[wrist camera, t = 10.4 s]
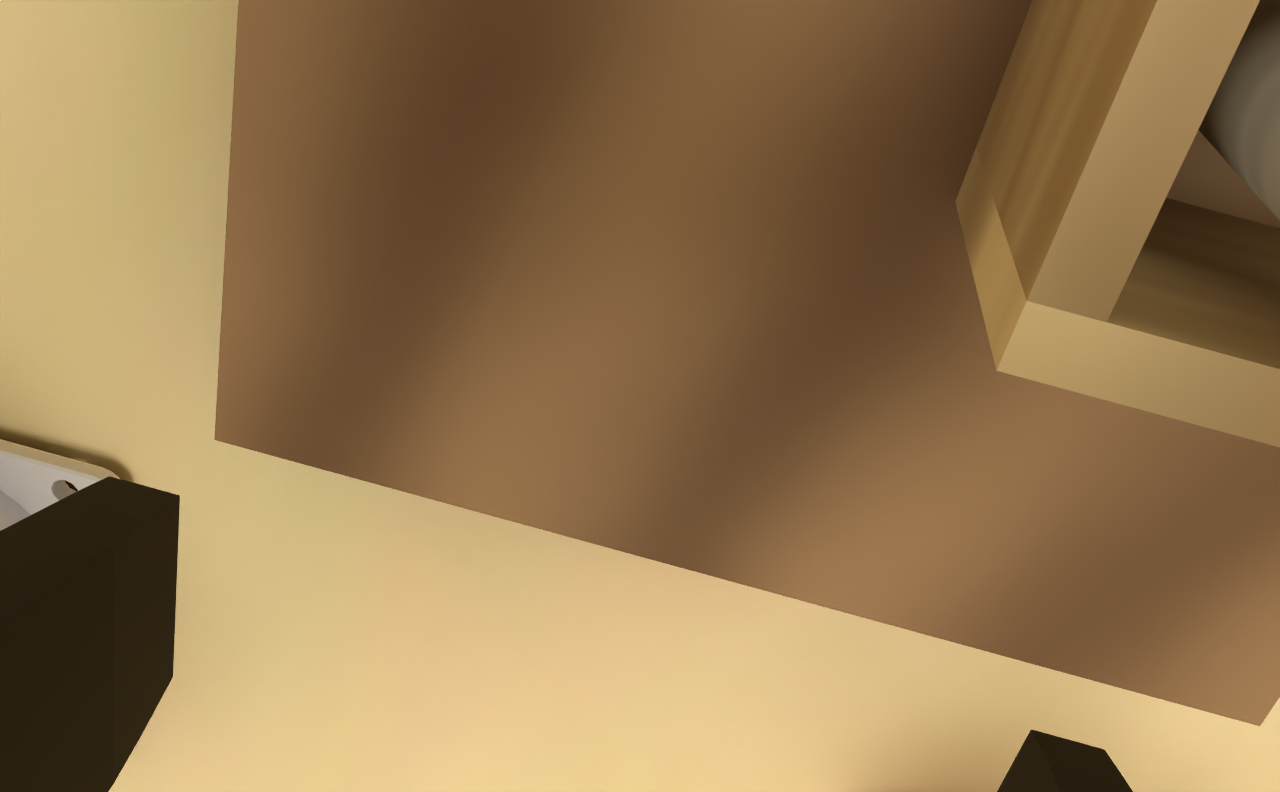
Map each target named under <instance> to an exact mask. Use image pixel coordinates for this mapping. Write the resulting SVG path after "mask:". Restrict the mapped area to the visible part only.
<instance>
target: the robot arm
mask: <svg viewBox="0 0 1280 792" xmlns="http://www.w3.org/2000/svg"><path fill="white" fill-rule="evenodd" d="M65 480H66V481H68V482H70V483H72V484H73V485H74V486H75V487H76V488H77V489H78V491H75V490H73V489H71V488H70V487H69V486H68V485H67V484H66V483H65ZM179 502H180V496H179V495H176V494H172V493H168V492H165V491H161V490H158V489H154V488H150V487H147V486H143V485H139V484H136V483H132V482H128V481H125V480H121V479H120V478H119V477H118V476H117V475H116V474H114V473H113V472H112V471H110V470H107V469H105V468H103V467H100V466H96V465H93V464H89V463H85V462H82V461H78V460H74V459H71V458H67V457H63V456H60V455H56V454H53V453H49V452H45V451H42V450H38V449H34V448H31V447H27V446H23V445H20V444H16V443H13V442H9V441H5V440H2V439H0V792H108V791H109V789H110V788H111V787H112V785H113V784H114V782H115V780H116V778H117V777H118V775H119V773H120V772H121V770H122V768H123V766H124V765H125V763H126V761H127V759H128V758H129V756H130V754H131V752H132V751H133V749H134V747H135V745H136V744H137V742H138V740H139V738H140V737H141V735H142V733H143V731H144V729H145V727H146V726H147V724H148V722H149V720H150V718H151V716H152V714H153V713H154V711H155V709H156V707H157V705H158V703H159V701H160V700H161V698H162V696H163V694H164V692H165V690H166V688H167V687H168V685H169V683H170V681H171V679H172V677H173V659H174V633H175V607H176V580H177V554H178V528H179ZM997 792H1133V791H1132V790H1131V788H1130V787H1129V785H1128V784H1127V782H1126V781H1125V779H1124V778H1123V776H1122V775H1121V773H1120V772H1119V770H1118V769H1117V767H1116V766H1115V764H1114V763H1113V761H1112V760H1111V759H1110V757H1109V756H1108V754H1107V753H1106V751H1105V750H1104V749H1100V748H1097V747H1093V746H1089V745H1086V744H1082V743H1078V742H1075V741H1071V740H1067V739H1064V738H1060V737H1057V736H1053V735H1049V734H1046V733H1042V732H1038V731H1035V730H1031V731H1030V733H1029V734H1028V736H1027V738H1026V740H1025V742H1024V744H1023V745H1022V747H1021V749H1020V751H1019V753H1018V755H1017V756H1016V758H1015V760H1014V762H1013V764H1012V766H1011V767H1010V769H1009V771H1008V773H1007V775H1006V777H1005V778H1004V780H1003V782H1002V784H1001V786H1000V788H999V789H998V791H997Z"/></svg>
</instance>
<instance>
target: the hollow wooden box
mask: <svg viewBox="0 0 1280 792" xmlns="http://www.w3.org/2000/svg"><path fill="white" fill-rule="evenodd" d="M1259 1H1260V0H1032V2H1031V5H1030V8H1029V10H1028V13H1027V16H1026V18H1025V21H1024V23H1023V26H1022V29H1021V31H1020V34H1019V36H1018V39H1017V42H1016V44H1015V47H1014V49H1013V52H1012V55H1011V57H1010V60H1009V63H1008V65H1007V68H1006V70H1005V73H1004V76H1003V78H1002V81H1001V83H1000V86H999V89H998V91H997V94H996V97H995V99H994V102H993V104H992V107H991V110H990V112H989V115H988V117H987V120H986V123H985V125H984V128H983V131H982V133H981V136H980V138H979V141H978V144H977V146H976V149H975V151H974V154H973V157H972V159H971V162H970V165H969V167H968V170H967V172H966V175H965V178H964V180H963V183H962V185H961V188H960V191H959V193H958V196H957V198H956V201H955V203H956V207H957V212H958V216H959V220H960V224H961V228H962V232H963V236H964V240H965V244H966V248H967V252H968V257H969V261H970V265H971V269H972V273H973V277H974V281H975V285H976V289H977V293H978V297H979V301H980V306H981V310H982V314H983V318H984V322H985V326H986V330H987V334H988V338H989V342H990V346H991V351H992V355H993V359H994V363H995V367H996V371H1000V372H1003V373H1007V374H1011V375H1014V376H1018V377H1022V378H1025V379H1029V380H1033V381H1036V382H1040V383H1044V384H1047V385H1051V386H1055V387H1059V388H1062V389H1066V390H1070V391H1073V392H1077V393H1081V394H1084V395H1088V396H1092V397H1095V398H1099V399H1103V400H1107V401H1110V402H1114V403H1118V404H1121V405H1125V406H1129V407H1132V408H1136V409H1140V410H1143V411H1147V412H1151V413H1154V414H1158V415H1162V416H1166V417H1169V418H1173V419H1177V420H1180V421H1184V422H1188V423H1191V424H1195V425H1199V426H1202V427H1206V428H1210V429H1214V430H1217V431H1221V432H1225V433H1228V434H1232V435H1236V436H1239V437H1243V438H1247V439H1250V440H1254V441H1258V442H1261V443H1265V444H1269V445H1273V446H1276V447H1280V228H1277V227H1273V226H1269V225H1266V224H1262V223H1258V222H1255V221H1251V220H1247V219H1243V218H1240V217H1236V216H1232V215H1228V214H1225V213H1221V212H1217V211H1214V210H1210V209H1206V208H1202V207H1199V206H1195V205H1191V204H1188V203H1184V202H1180V201H1176V200H1173V199H1169V198H1166V197H1167V194H1168V192H1169V190H1170V188H1171V186H1172V184H1173V182H1174V180H1175V178H1176V176H1177V174H1178V171H1179V169H1180V167H1181V165H1182V163H1183V161H1184V159H1185V157H1186V155H1187V153H1188V150H1189V148H1190V146H1191V144H1192V142H1193V140H1194V138H1195V136H1196V134H1197V132H1198V129H1199V127H1200V125H1201V123H1202V121H1203V119H1204V117H1205V115H1206V113H1207V111H1208V108H1209V106H1210V104H1211V102H1212V100H1213V98H1214V96H1215V94H1216V92H1217V90H1218V87H1219V85H1220V83H1221V81H1222V79H1223V77H1224V75H1225V73H1226V71H1227V69H1228V66H1229V64H1230V62H1231V60H1232V58H1233V56H1234V54H1235V52H1236V50H1237V48H1238V45H1239V43H1240V41H1241V39H1242V37H1243V35H1244V33H1245V31H1246V29H1247V27H1248V25H1249V22H1250V20H1251V18H1252V16H1253V14H1254V12H1255V10H1256V8H1257V6H1258V4H1259Z"/></svg>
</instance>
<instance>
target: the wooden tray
mask: <svg viewBox="0 0 1280 792" xmlns="http://www.w3.org/2000/svg"><path fill="white" fill-rule="evenodd" d="M1031 2H1032V0H239V4H238V22H237V41H236V59H235V77H234V96H233V114H232V132H231V150H230V169H229V187H228V205H227V224H226V242H225V260H224V278H223V297H222V315H221V333H220V352H219V370H218V388H217V407H216V425H215V440H217V441H221V442H225V443H228V444H232V445H236V446H239V447H243V448H247V449H250V450H254V451H258V452H261V453H265V454H268V455H272V456H276V457H279V458H283V459H287V460H290V461H294V462H298V463H301V464H305V465H309V466H312V467H316V468H320V469H323V470H327V471H331V472H334V473H338V474H341V475H345V476H349V477H352V478H356V479H360V480H363V481H367V482H371V483H374V484H378V485H382V486H385V487H389V488H393V489H396V490H400V491H404V492H407V493H411V494H415V495H418V496H422V497H425V498H429V499H433V500H436V501H440V502H444V503H447V504H451V505H455V506H458V507H462V508H466V509H469V510H473V511H477V512H480V513H484V514H488V515H491V516H495V517H498V518H502V519H506V520H509V521H513V522H517V523H520V524H524V525H528V526H531V527H535V528H539V529H542V530H546V531H550V532H553V533H557V534H561V535H564V536H568V537H571V538H575V539H579V540H582V541H586V542H590V543H593V544H597V545H601V546H604V547H608V548H612V549H615V550H619V551H623V552H626V553H630V554H634V555H637V556H641V557H644V558H648V559H652V560H655V561H659V562H663V563H666V564H670V565H674V566H677V567H681V568H685V569H688V570H692V571H696V572H699V573H703V574H707V575H710V576H714V577H717V578H721V579H725V580H728V581H732V582H736V583H739V584H743V585H747V586H750V587H754V588H758V589H761V590H765V591H769V592H772V593H776V594H780V595H783V596H787V597H790V598H794V599H798V600H801V601H805V602H809V603H812V604H816V605H820V606H823V607H827V608H831V609H834V610H838V611H842V612H845V613H849V614H853V615H856V616H860V617H863V618H867V619H871V620H874V621H878V622H882V623H885V624H889V625H893V626H896V627H900V628H904V629H907V630H911V631H915V632H918V633H922V634H926V635H929V636H933V637H936V638H940V639H944V640H947V641H951V642H955V643H958V644H962V645H966V646H969V647H973V648H977V649H980V650H984V651H988V652H991V653H995V654H999V655H1002V656H1006V657H1009V658H1013V659H1017V660H1020V661H1024V662H1028V663H1031V664H1035V665H1039V666H1042V667H1046V668H1050V669H1053V670H1057V671H1061V672H1064V673H1068V674H1072V675H1075V676H1079V677H1082V678H1086V679H1090V680H1093V681H1097V682H1101V683H1104V684H1108V685H1112V686H1115V687H1119V688H1123V689H1126V690H1130V691H1134V692H1137V693H1141V694H1145V695H1148V696H1152V697H1155V698H1159V699H1163V700H1166V701H1170V702H1174V703H1177V704H1181V705H1185V706H1188V707H1192V708H1196V709H1199V710H1203V711H1207V712H1210V713H1214V714H1218V715H1221V716H1225V717H1229V718H1232V719H1236V720H1239V721H1243V722H1247V723H1250V724H1254V725H1258V726H1260V725H1261V724H1262V722H1263V721H1264V719H1265V718H1266V716H1267V715H1268V713H1269V712H1270V710H1271V709H1272V707H1273V706H1274V705H1275V703H1276V702H1277V700H1278V699H1279V697H1280V447H1276V446H1273V445H1269V444H1265V443H1261V442H1258V441H1254V440H1250V439H1247V438H1243V437H1239V436H1236V435H1232V434H1228V433H1225V432H1221V431H1217V430H1214V429H1210V428H1206V427H1202V426H1199V425H1195V424H1191V423H1188V422H1184V421H1180V420H1177V419H1173V418H1169V417H1166V416H1162V415H1158V414H1154V413H1151V412H1147V411H1143V410H1140V409H1136V408H1132V407H1129V406H1125V405H1121V404H1118V403H1114V402H1110V401H1107V400H1103V399H1099V398H1095V397H1092V396H1088V395H1084V394H1081V393H1077V392H1073V391H1070V390H1066V389H1062V388H1059V387H1055V386H1051V385H1047V384H1044V383H1040V382H1036V381H1033V380H1029V379H1025V378H1022V377H1018V376H1014V375H1011V374H1007V373H1003V372H1000V371H996V367H995V363H994V359H993V355H992V351H991V346H990V342H989V338H988V334H987V330H986V326H985V322H984V318H983V314H982V310H981V306H980V301H979V297H978V293H977V289H976V285H975V281H974V277H973V273H972V269H971V265H970V261H969V257H968V252H967V248H966V244H965V240H964V236H963V232H962V228H961V224H960V220H959V216H958V212H957V207H956V203H955V201H956V198H957V196H958V193H959V191H960V188H961V185H962V183H963V180H964V178H965V175H966V172H967V170H968V167H969V165H970V162H971V159H972V157H973V154H974V151H975V149H976V146H977V144H978V141H979V138H980V136H981V133H982V131H983V128H984V125H985V123H986V120H987V117H988V115H989V112H990V110H991V107H992V104H993V102H994V99H995V97H996V94H997V91H998V89H999V86H1000V83H1001V81H1002V78H1003V76H1004V73H1005V70H1006V68H1007V65H1008V63H1009V60H1010V57H1011V55H1012V52H1013V49H1014V47H1015V44H1016V42H1017V39H1018V36H1019V34H1020V31H1021V29H1022V26H1023V23H1024V21H1025V18H1026V16H1027V13H1028V10H1029V8H1030V5H1031ZM1166 198H1169V199H1173V200H1176V201H1180V202H1184V203H1188V204H1191V205H1195V206H1199V207H1202V208H1206V209H1210V210H1214V211H1217V212H1221V213H1225V214H1228V215H1232V216H1236V217H1240V218H1243V219H1247V220H1251V221H1255V222H1258V223H1262V224H1266V225H1269V226H1273V227H1277V228H1280V0H1260V1H1259V4H1258V6H1257V8H1256V10H1255V12H1254V14H1253V16H1252V18H1251V20H1250V22H1249V25H1248V27H1247V29H1246V31H1245V33H1244V35H1243V37H1242V39H1241V41H1240V43H1239V45H1238V48H1237V50H1236V52H1235V54H1234V56H1233V58H1232V60H1231V62H1230V64H1229V66H1228V69H1227V71H1226V73H1225V75H1224V77H1223V79H1222V81H1221V83H1220V85H1219V87H1218V90H1217V92H1216V94H1215V96H1214V98H1213V100H1212V102H1211V104H1210V106H1209V108H1208V111H1207V113H1206V115H1205V117H1204V119H1203V121H1202V123H1201V125H1200V127H1199V129H1198V132H1197V134H1196V136H1195V138H1194V140H1193V142H1192V144H1191V146H1190V148H1189V150H1188V153H1187V155H1186V157H1185V159H1184V161H1183V163H1182V165H1181V167H1180V169H1179V171H1178V174H1177V176H1176V178H1175V180H1174V182H1173V184H1172V186H1171V188H1170V190H1169V192H1168V194H1167V197H1166Z"/></svg>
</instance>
